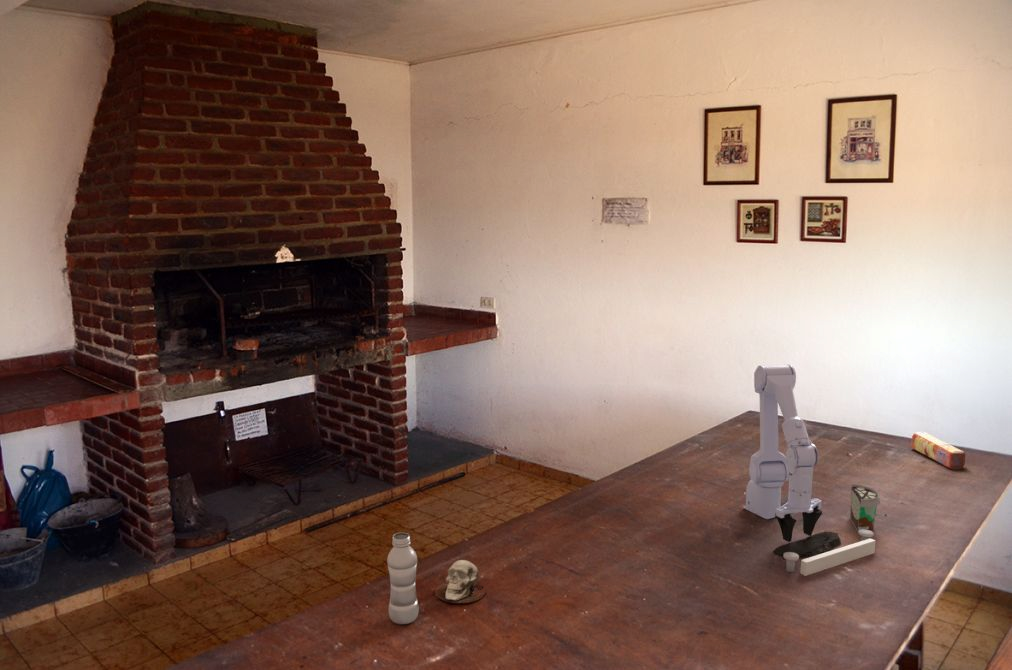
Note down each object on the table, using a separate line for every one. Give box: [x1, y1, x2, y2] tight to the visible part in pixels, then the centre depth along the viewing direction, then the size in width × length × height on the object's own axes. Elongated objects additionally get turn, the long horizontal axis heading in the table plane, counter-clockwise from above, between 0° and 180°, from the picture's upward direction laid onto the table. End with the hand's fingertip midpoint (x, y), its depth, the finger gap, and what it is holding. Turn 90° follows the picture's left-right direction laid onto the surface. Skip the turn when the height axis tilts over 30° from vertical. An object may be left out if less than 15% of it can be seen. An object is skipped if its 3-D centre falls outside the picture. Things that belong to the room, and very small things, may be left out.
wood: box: [772, 531, 842, 560], centre depth 206 cm, size 22×7×3 cm, turn 117°
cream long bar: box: [782, 529, 877, 577], centre depth 199 cm, size 6×31×4 cm, turn 117°
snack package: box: [910, 431, 966, 470], centre depth 271 cm, size 21×7×7 cm, turn 6°
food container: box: [849, 483, 881, 533], centre depth 218 cm, size 12×6×10 cm, turn 168°
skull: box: [434, 559, 484, 604], centre depth 186 cm, size 12×10×10 cm
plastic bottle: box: [386, 532, 420, 625], centre depth 173 cm, size 6×7×20 cm
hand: (797, 537), depth 209 cm, fingers open, 7 cm apart
